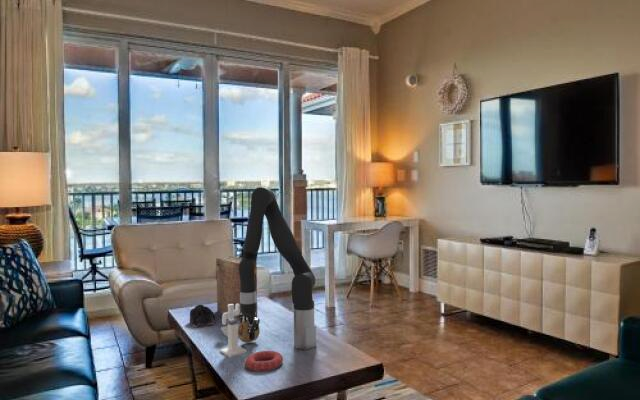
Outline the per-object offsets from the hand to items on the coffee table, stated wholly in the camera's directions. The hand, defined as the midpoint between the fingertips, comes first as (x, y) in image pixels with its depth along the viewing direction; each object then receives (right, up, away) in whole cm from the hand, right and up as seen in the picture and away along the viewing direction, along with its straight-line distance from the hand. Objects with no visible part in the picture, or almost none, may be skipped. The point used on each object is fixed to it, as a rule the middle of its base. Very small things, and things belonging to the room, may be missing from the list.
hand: (249, 338), depth 212 cm
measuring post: (-6, -3, -10) cm, 12 cm away
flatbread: (0, -2, 0) cm, 2 cm away
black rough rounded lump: (-29, -1, +30) cm, 42 cm away
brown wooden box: (-14, 0, +46) cm, 48 cm away
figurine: (-10, -2, +11) cm, 16 cm away
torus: (+10, -4, -23) cm, 26 cm away
